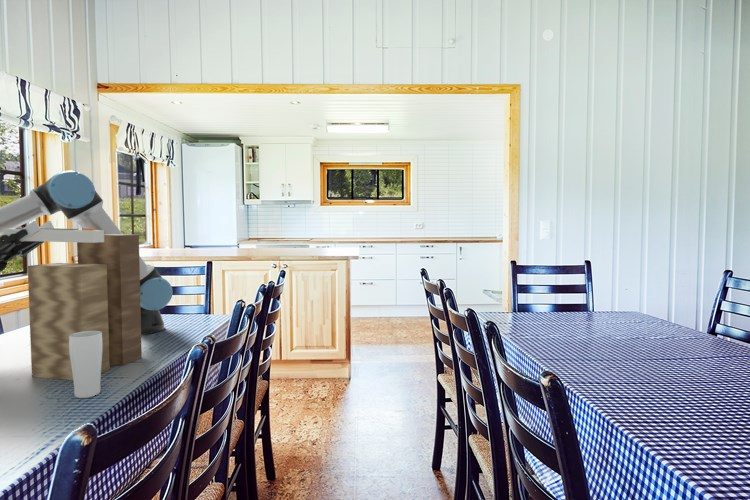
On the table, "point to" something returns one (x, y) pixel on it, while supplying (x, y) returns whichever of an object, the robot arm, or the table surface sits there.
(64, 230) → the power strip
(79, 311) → the stepped stand
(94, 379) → the drinking glass
